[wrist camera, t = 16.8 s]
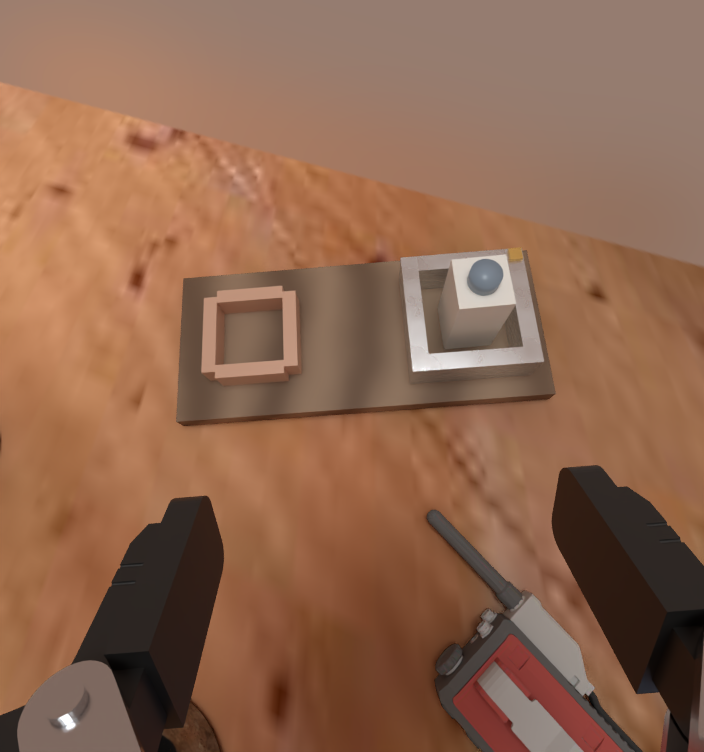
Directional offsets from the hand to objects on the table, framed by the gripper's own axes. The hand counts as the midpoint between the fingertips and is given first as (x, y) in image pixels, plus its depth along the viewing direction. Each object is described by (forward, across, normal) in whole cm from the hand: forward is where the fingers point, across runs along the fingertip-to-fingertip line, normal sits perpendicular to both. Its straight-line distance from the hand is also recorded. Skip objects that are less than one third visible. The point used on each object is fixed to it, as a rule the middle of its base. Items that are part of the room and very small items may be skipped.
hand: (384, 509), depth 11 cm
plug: (+25, -8, +6) cm, 27 cm away
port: (+26, -8, +6) cm, 28 cm away
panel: (+27, 0, +8) cm, 28 cm away
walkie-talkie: (+10, -8, +24) cm, 27 cm away
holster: (+26, +8, +6) cm, 28 cm away
